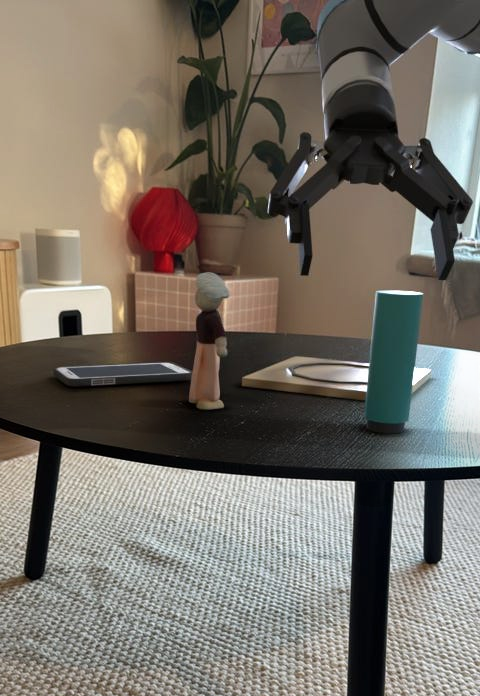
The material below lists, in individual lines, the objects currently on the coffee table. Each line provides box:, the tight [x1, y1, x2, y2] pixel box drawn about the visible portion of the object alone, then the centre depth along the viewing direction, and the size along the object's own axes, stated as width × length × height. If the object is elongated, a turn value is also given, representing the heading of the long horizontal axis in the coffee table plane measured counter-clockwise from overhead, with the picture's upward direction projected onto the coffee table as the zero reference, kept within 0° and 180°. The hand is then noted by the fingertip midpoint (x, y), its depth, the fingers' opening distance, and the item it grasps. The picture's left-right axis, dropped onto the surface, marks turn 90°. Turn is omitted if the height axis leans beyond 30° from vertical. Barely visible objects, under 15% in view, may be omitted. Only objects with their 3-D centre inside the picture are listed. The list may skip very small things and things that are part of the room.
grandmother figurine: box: [188, 271, 231, 411], centre depth 73 cm, size 8×4×13 cm, turn 30°
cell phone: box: [53, 361, 193, 388], centre depth 86 cm, size 8×15×1 cm, turn 116°
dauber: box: [363, 289, 424, 435], centre depth 67 cm, size 4×4×12 cm
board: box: [241, 355, 432, 402], centre depth 89 cm, size 18×18×1 cm
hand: (377, 268), depth 72 cm, fingers open, 13 cm apart
